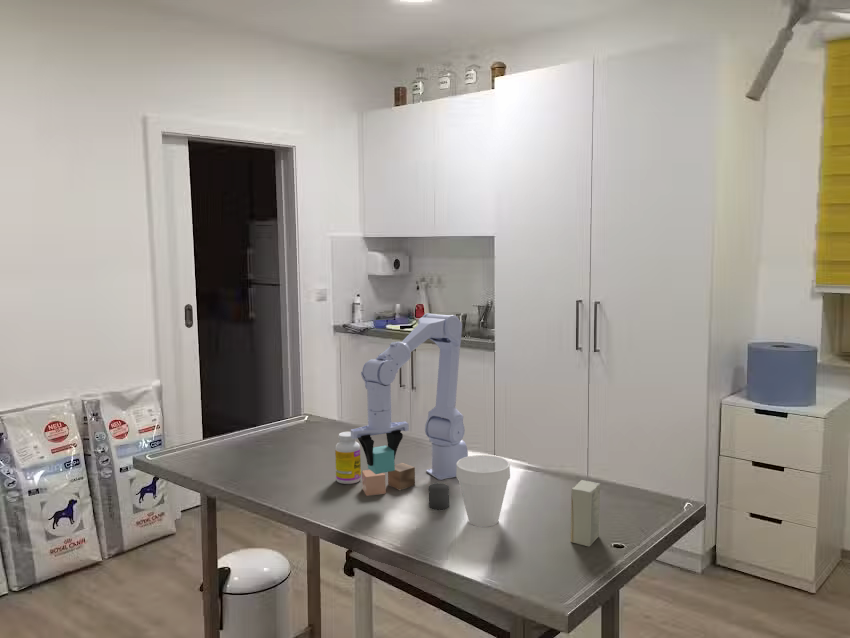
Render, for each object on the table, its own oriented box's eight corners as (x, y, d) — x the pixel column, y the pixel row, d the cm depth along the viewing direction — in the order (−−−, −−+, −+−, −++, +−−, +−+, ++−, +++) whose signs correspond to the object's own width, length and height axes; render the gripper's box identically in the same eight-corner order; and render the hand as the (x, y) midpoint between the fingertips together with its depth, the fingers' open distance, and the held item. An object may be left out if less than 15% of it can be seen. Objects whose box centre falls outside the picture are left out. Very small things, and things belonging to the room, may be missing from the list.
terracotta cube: (381, 487, 189) (380, 468, 188) (385, 493, 184) (385, 474, 183) (362, 489, 187) (362, 470, 187) (366, 496, 183) (365, 477, 182)
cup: (495, 536, 158) (495, 476, 156) (446, 524, 164) (446, 466, 162) (519, 516, 168) (519, 459, 166) (472, 506, 174) (472, 451, 173)
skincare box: (580, 532, 159) (581, 478, 157) (600, 536, 157) (600, 482, 155) (569, 542, 154) (570, 488, 152) (589, 547, 151) (590, 491, 150)
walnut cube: (402, 480, 193) (402, 462, 192) (415, 485, 189) (414, 467, 189) (388, 485, 190) (387, 466, 189) (400, 490, 186) (399, 471, 185)
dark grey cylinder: (443, 501, 178) (443, 481, 178) (453, 508, 174) (452, 488, 173) (425, 504, 176) (424, 485, 175) (434, 512, 172) (434, 491, 171)
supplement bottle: (357, 485, 190) (355, 438, 188) (332, 484, 191) (331, 437, 189) (364, 476, 196) (362, 430, 195) (340, 475, 198) (339, 429, 196)
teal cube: (386, 464, 181) (385, 445, 180) (394, 470, 176) (393, 450, 176) (368, 468, 179) (367, 448, 178) (375, 474, 174) (374, 454, 173)
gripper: (399, 401, 182) (401, 453, 184) (345, 408, 176) (347, 462, 178) (411, 407, 176) (412, 461, 178) (355, 415, 170) (357, 471, 171)
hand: (380, 462), depth 177 cm, fingers closed on teal cube, 5 cm apart
